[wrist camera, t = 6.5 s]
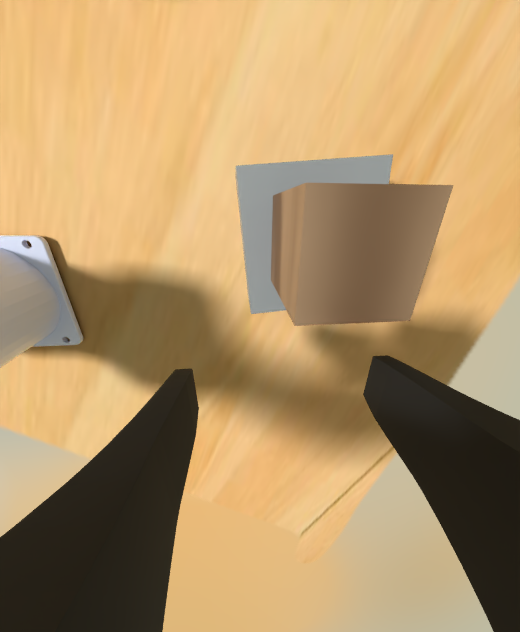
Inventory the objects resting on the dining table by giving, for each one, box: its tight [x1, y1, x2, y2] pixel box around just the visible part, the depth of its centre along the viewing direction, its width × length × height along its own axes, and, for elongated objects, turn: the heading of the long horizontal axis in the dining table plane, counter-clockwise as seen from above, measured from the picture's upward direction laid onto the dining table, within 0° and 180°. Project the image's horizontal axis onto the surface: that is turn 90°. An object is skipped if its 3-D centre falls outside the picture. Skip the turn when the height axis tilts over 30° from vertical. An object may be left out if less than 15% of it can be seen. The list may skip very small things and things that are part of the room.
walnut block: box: [271, 183, 453, 326], centre depth 10 cm, size 4×4×6 cm
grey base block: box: [236, 155, 393, 314], centre depth 15 cm, size 8×8×4 cm
